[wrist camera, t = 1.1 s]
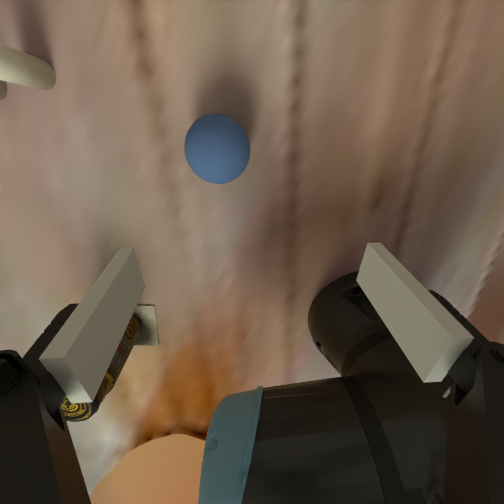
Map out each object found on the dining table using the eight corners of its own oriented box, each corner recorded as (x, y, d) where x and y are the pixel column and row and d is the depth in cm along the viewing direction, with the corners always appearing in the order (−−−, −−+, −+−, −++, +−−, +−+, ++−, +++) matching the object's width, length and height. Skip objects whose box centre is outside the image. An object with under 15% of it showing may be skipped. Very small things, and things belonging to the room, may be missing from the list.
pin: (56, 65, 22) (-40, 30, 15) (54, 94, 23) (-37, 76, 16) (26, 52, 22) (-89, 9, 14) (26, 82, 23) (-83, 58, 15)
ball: (257, 130, 25) (262, 130, 20) (237, 186, 28) (236, 199, 22) (200, 105, 24) (189, 97, 19) (184, 165, 26) (170, 174, 21)
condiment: (90, 303, 34) (20, 384, 23) (154, 305, 34) (115, 384, 23) (100, 343, 37) (43, 430, 26) (159, 344, 37) (126, 430, 27)
